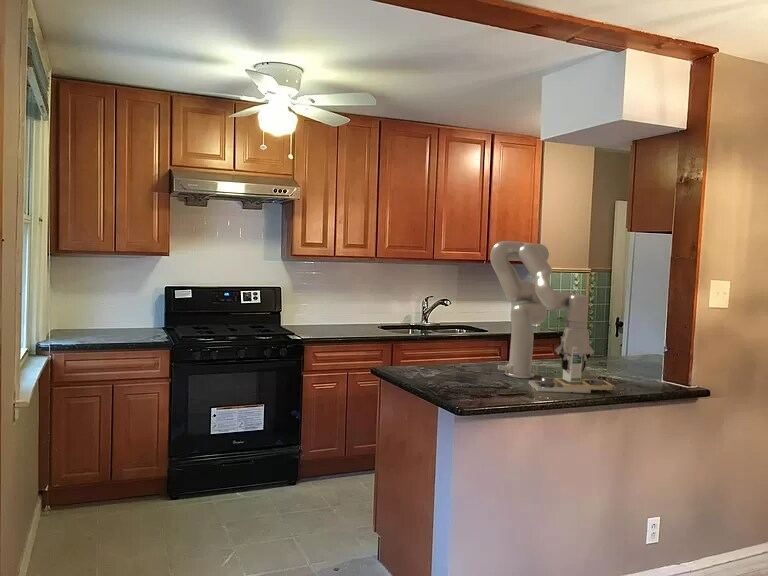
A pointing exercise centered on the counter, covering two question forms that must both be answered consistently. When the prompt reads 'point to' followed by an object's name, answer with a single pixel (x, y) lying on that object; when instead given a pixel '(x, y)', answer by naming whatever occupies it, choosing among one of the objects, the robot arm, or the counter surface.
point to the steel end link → (549, 384)
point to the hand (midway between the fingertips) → (573, 369)
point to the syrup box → (574, 367)
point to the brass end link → (587, 385)
